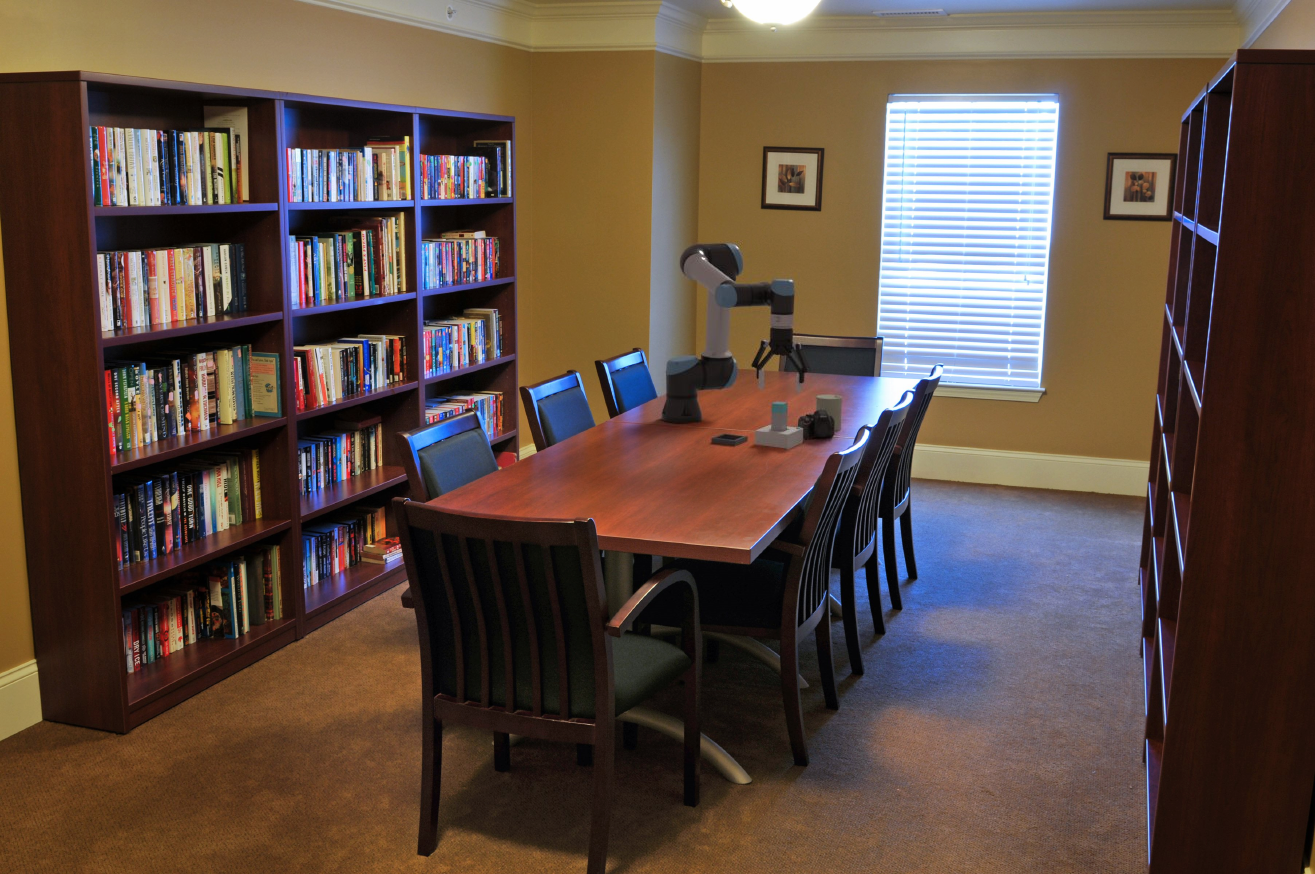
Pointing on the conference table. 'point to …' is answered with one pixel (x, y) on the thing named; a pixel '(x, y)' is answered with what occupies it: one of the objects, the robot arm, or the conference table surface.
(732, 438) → the dark grey square tray
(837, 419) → the can
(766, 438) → the port panel
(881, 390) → the conference table surface
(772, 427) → the plug
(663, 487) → the conference table surface
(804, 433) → the camera
